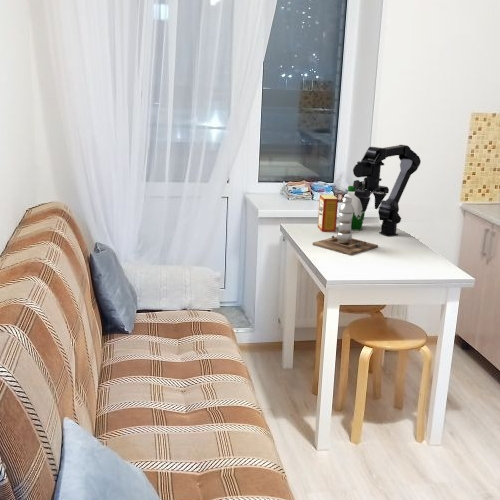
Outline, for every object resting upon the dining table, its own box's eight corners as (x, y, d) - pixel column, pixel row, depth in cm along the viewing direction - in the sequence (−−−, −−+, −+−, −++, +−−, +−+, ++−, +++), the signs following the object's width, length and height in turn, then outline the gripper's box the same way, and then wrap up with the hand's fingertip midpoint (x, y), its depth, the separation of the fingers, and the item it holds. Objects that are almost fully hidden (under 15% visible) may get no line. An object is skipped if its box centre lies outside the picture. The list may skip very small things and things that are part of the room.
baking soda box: (317, 226, 317) (319, 194, 312) (330, 226, 318) (333, 194, 313) (322, 231, 308) (324, 198, 303) (335, 231, 309) (338, 198, 304)
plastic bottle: (354, 242, 287) (357, 197, 281) (346, 246, 281) (350, 200, 276) (340, 240, 290) (344, 195, 285) (333, 243, 285) (336, 197, 279)
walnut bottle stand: (340, 237, 299) (341, 231, 298) (377, 247, 285) (378, 240, 285) (312, 244, 285) (313, 238, 284) (350, 255, 272) (350, 248, 271)
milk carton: (344, 224, 322) (348, 184, 317) (363, 226, 321) (367, 186, 315) (343, 229, 314) (346, 187, 309) (362, 230, 313) (366, 189, 307)
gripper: (370, 171, 304) (367, 204, 308) (345, 175, 291) (343, 209, 295) (390, 174, 296) (387, 208, 300) (366, 178, 283) (363, 214, 287)
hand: (370, 210), depth 296 cm, fingers open, 9 cm apart
